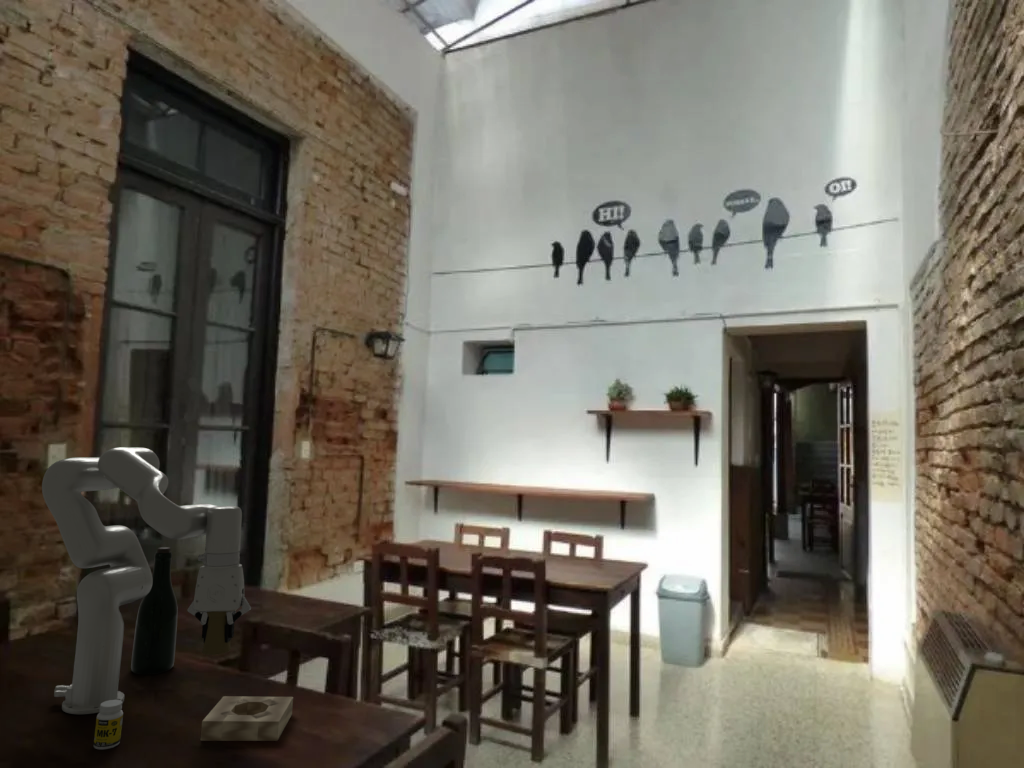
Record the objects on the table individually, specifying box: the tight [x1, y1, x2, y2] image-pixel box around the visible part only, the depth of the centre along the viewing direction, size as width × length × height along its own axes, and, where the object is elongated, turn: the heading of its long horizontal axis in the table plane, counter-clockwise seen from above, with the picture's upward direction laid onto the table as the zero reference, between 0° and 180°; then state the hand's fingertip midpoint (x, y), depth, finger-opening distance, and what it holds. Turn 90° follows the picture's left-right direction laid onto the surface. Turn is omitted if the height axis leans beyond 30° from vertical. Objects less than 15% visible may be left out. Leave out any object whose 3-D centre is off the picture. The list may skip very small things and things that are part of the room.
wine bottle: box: [130, 546, 179, 676], centre depth 183 cm, size 10×10×33 cm
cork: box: [201, 611, 232, 656], centre depth 151 cm, size 6×6×11 cm
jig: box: [199, 695, 294, 742], centre depth 148 cm, size 16×14×4 cm
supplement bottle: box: [93, 700, 124, 751], centre depth 137 cm, size 5×5×8 cm
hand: (217, 640), depth 151 cm, fingers closed on cork, 3 cm apart
